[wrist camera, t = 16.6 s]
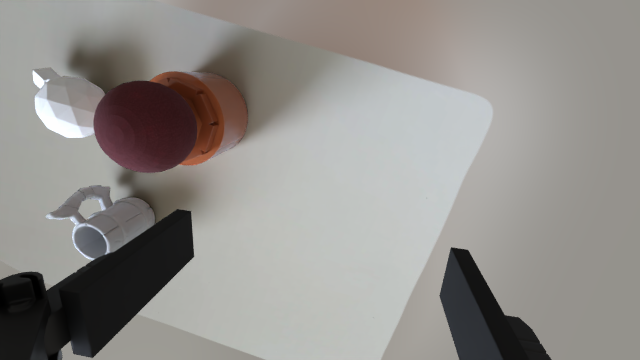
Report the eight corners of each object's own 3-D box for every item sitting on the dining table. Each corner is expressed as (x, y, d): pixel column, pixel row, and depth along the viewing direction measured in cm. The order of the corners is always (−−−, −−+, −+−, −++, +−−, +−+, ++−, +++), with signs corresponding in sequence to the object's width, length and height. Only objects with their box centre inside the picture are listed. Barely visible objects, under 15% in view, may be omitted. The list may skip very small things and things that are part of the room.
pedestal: (259, 93, 46) (231, 97, 37) (233, 164, 50) (203, 183, 41) (185, 58, 46) (140, 53, 37) (166, 132, 50) (121, 144, 41)
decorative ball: (135, 145, 41) (65, 164, 32) (144, 68, 38) (68, 65, 28) (205, 171, 41) (155, 198, 31) (220, 96, 37) (169, 101, 28)
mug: (137, 241, 57) (80, 281, 46) (94, 189, 55) (23, 217, 44) (165, 222, 55) (112, 259, 44) (121, 167, 53) (53, 191, 42)
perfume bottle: (129, 98, 47) (73, 47, 47) (64, 114, 40) (-2, 53, 40) (122, 138, 52) (71, 91, 53) (63, 159, 45) (5, 104, 45)
